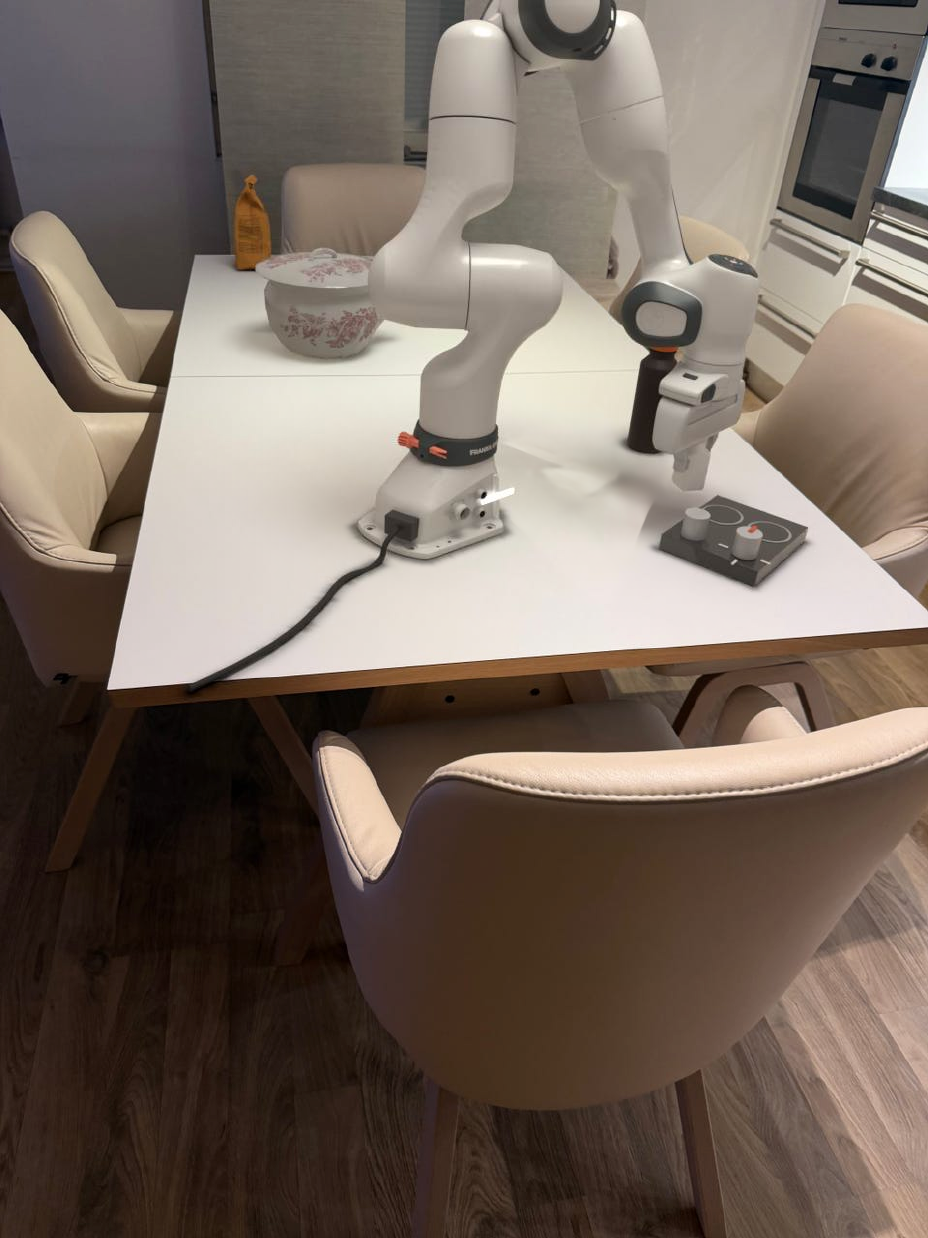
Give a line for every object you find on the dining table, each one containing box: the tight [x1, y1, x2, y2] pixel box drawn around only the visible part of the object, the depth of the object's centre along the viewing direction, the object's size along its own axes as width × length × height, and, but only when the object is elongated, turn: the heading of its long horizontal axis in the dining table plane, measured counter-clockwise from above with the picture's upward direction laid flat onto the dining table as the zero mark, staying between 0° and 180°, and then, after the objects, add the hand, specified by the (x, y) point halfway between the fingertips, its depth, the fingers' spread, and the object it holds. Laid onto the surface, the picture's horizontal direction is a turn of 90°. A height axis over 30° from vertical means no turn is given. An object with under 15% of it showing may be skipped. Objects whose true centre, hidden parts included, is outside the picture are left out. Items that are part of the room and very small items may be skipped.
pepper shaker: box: [671, 438, 712, 492], centre depth 144 cm, size 4×4×10 cm
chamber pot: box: [255, 247, 385, 360], centre depth 198 cm, size 28×28×21 cm
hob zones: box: [681, 505, 791, 543], centre depth 139 cm, size 14×14×4 cm
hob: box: [658, 494, 809, 587], centre depth 141 cm, size 19×15×3 cm
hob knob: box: [731, 526, 763, 560], centre depth 133 cm, size 4×4×4 cm
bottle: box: [626, 347, 679, 454], centre depth 165 cm, size 7×7×20 cm
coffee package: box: [233, 174, 272, 271], centre depth 251 cm, size 10×12×22 cm
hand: (690, 464), depth 145 cm, fingers closed on pepper shaker, 5 cm apart
